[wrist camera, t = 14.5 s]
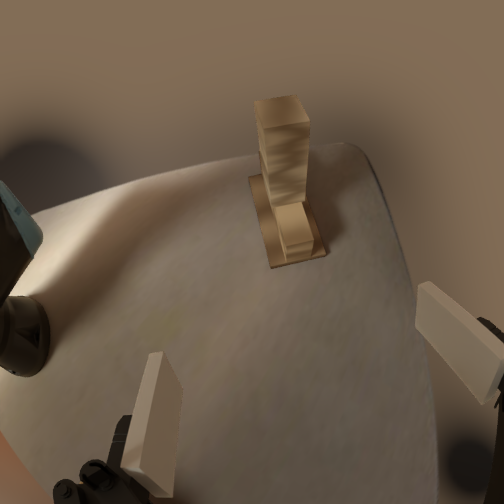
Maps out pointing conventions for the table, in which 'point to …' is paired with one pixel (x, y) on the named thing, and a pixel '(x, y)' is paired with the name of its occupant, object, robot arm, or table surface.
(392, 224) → the table surface
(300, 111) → the block
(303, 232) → the ridge
